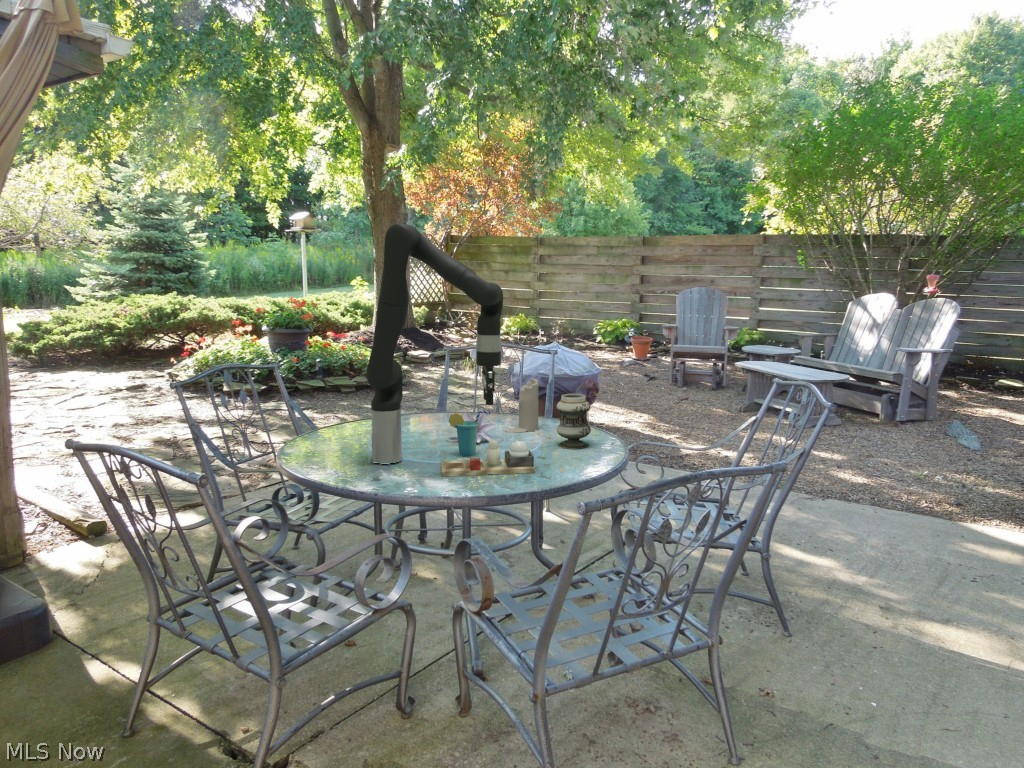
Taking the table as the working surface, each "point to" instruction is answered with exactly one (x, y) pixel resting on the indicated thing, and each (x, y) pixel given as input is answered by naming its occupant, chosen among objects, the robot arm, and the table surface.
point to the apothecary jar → (573, 420)
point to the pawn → (493, 453)
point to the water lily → (480, 427)
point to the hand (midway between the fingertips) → (488, 402)
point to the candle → (528, 408)
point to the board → (488, 466)
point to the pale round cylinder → (519, 449)
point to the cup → (466, 433)
